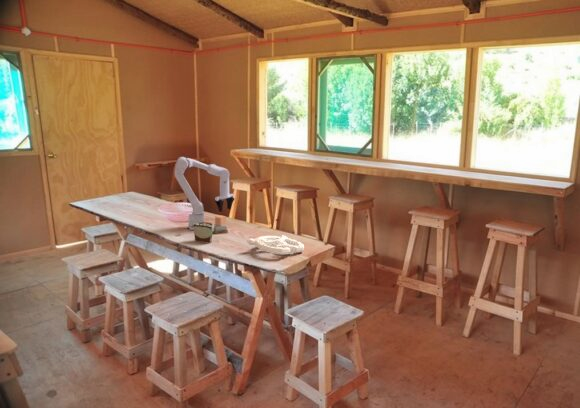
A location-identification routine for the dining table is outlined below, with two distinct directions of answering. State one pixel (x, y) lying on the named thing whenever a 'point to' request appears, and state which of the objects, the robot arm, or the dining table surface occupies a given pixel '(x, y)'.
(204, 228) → the food container
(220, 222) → the peach foam cube
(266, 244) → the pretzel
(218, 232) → the bottom slab
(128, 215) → the dining table surface
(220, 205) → the robot arm
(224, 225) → the top slab
